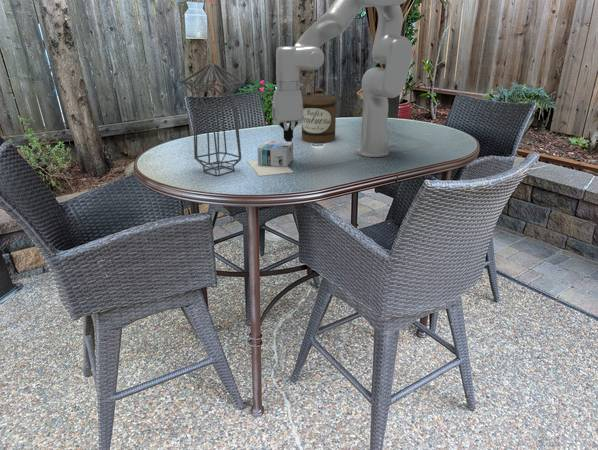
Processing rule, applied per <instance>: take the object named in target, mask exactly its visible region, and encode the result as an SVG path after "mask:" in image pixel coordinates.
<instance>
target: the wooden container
mask: <svg viewBox="0 0 598 450" xmlns="http://www.w3.org/2000/svg"><path fill="white" fill-rule="evenodd" d="M323 91H324V90H323V88H322V87H316V88H315V89H314V94H312V95H311V94H309V95H304V96H303V95H302V101H303V123H301V140H302V141H305V142H308V143H314V144H321V143H322V144H323V143H331V142H333V141H335V140H336V123H337V122H336V103H337V101H336V100H337V99H336V96H334V95H329V94H324V93H323Z"/></svg>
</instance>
